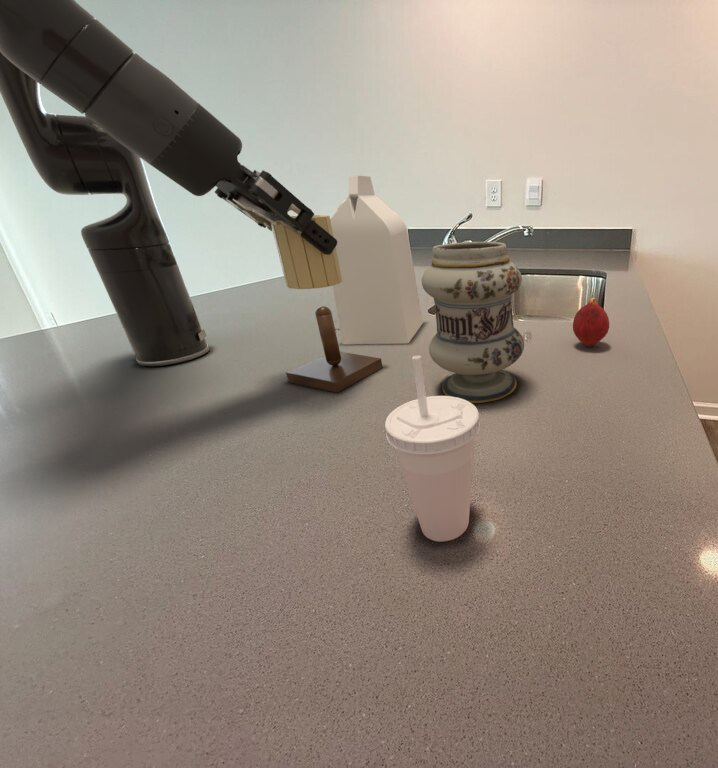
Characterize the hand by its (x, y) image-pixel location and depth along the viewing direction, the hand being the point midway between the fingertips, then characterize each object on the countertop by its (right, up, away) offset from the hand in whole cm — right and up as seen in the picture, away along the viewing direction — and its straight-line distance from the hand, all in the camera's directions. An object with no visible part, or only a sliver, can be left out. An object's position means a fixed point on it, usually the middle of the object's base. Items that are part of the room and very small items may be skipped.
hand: (319, 246), depth 51 cm
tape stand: (-1, -16, +7) cm, 18 cm away
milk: (+1, -8, +24) cm, 26 cm away
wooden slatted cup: (-1, -4, +1) cm, 5 cm away
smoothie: (+19, -28, -19) cm, 39 cm away
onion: (+37, -11, +16) cm, 42 cm away
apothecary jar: (+20, -18, +3) cm, 27 cm away
